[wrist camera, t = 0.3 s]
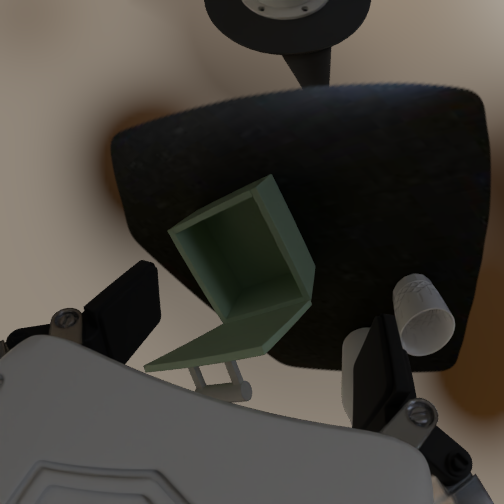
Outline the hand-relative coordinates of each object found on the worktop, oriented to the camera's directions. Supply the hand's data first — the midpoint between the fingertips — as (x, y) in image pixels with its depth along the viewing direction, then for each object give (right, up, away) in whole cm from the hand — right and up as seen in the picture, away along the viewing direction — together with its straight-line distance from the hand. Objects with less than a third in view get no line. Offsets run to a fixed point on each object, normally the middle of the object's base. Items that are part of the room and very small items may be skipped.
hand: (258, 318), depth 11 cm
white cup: (+24, -3, +27) cm, 37 cm away
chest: (0, +5, +30) cm, 31 cm away
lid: (-2, -5, +17) cm, 18 cm away
